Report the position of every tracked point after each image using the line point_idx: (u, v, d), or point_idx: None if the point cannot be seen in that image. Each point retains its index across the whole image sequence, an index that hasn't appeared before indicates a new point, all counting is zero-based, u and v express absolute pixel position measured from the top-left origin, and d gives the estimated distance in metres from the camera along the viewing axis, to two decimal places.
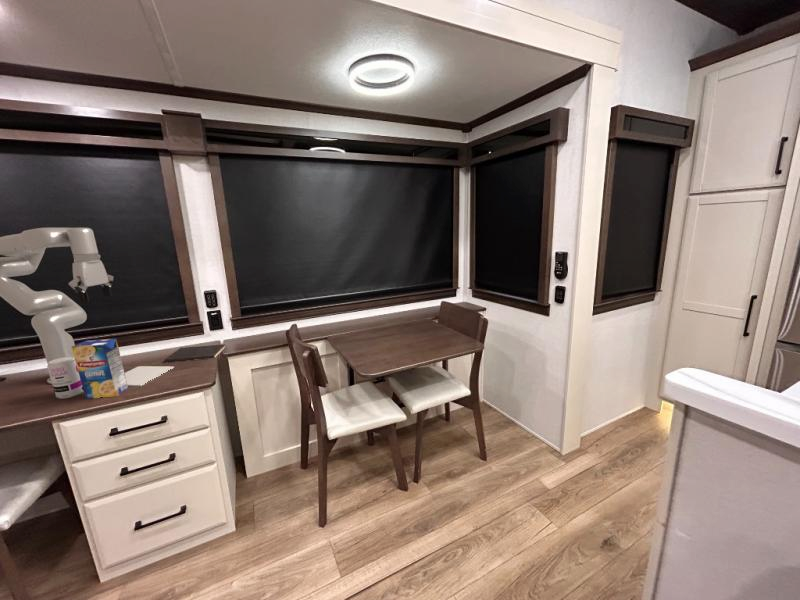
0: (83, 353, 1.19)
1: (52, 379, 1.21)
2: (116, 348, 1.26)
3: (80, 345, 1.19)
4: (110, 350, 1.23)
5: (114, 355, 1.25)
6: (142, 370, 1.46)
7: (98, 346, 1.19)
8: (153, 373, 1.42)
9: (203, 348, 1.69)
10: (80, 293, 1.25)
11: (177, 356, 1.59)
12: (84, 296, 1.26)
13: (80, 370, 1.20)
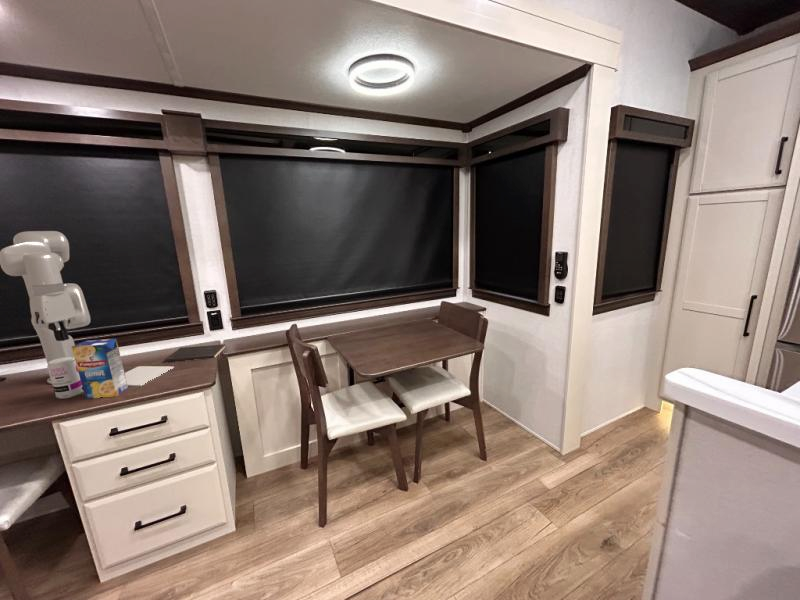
0: (83, 353, 1.19)
1: (52, 379, 1.21)
2: (116, 348, 1.26)
3: (80, 345, 1.19)
4: (110, 350, 1.23)
5: (114, 355, 1.25)
6: (142, 370, 1.46)
7: (98, 346, 1.19)
8: (153, 373, 1.42)
9: (203, 348, 1.69)
10: (55, 331, 1.09)
11: (177, 356, 1.59)
12: (60, 335, 1.09)
13: (80, 370, 1.20)
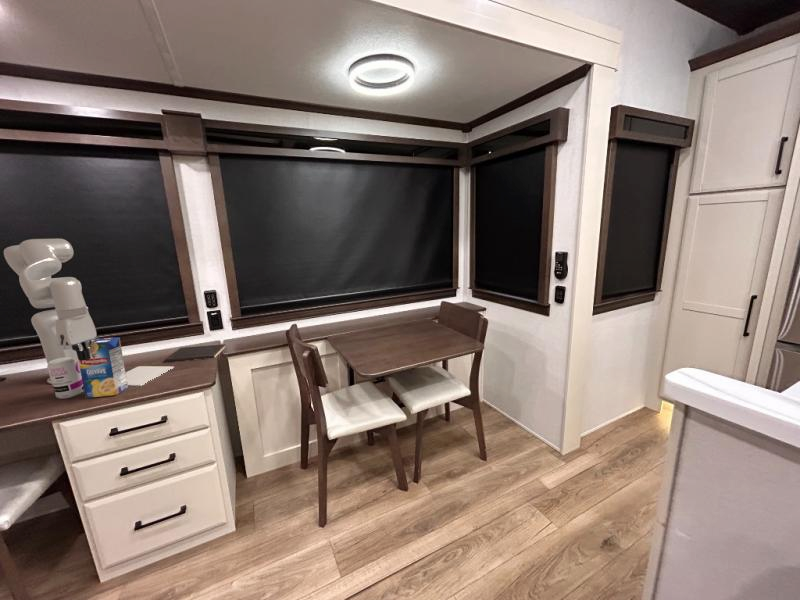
0: None
1: (52, 379, 1.21)
2: (119, 346, 1.28)
3: None
4: (112, 348, 1.24)
5: (116, 353, 1.26)
6: (142, 370, 1.46)
7: (101, 343, 1.21)
8: (153, 373, 1.42)
9: (203, 348, 1.69)
10: (78, 352, 1.16)
11: (177, 356, 1.59)
12: (82, 355, 1.17)
13: (82, 368, 1.21)
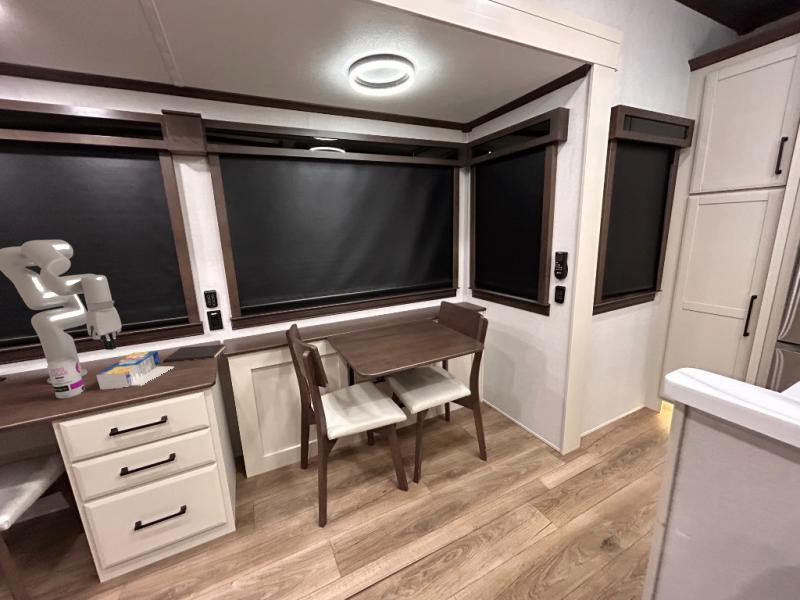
0: (137, 354, 1.47)
1: (52, 379, 1.21)
2: (155, 365, 1.49)
3: None
4: (154, 358, 1.48)
5: (151, 364, 1.46)
6: None
7: None
8: (153, 373, 1.42)
9: (203, 348, 1.69)
10: (105, 342, 1.26)
11: (177, 356, 1.59)
12: (109, 344, 1.27)
13: (120, 361, 1.40)
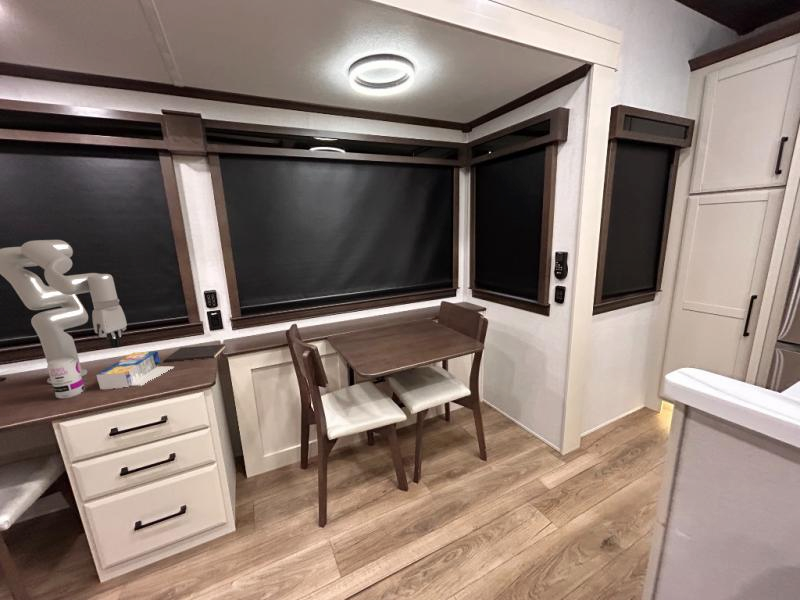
0: (137, 354, 1.47)
1: (52, 379, 1.21)
2: (155, 365, 1.49)
3: None
4: (154, 358, 1.48)
5: (151, 364, 1.46)
6: None
7: None
8: (153, 373, 1.42)
9: (203, 348, 1.69)
10: (111, 340, 1.29)
11: (177, 356, 1.59)
12: (115, 342, 1.29)
13: (120, 361, 1.40)
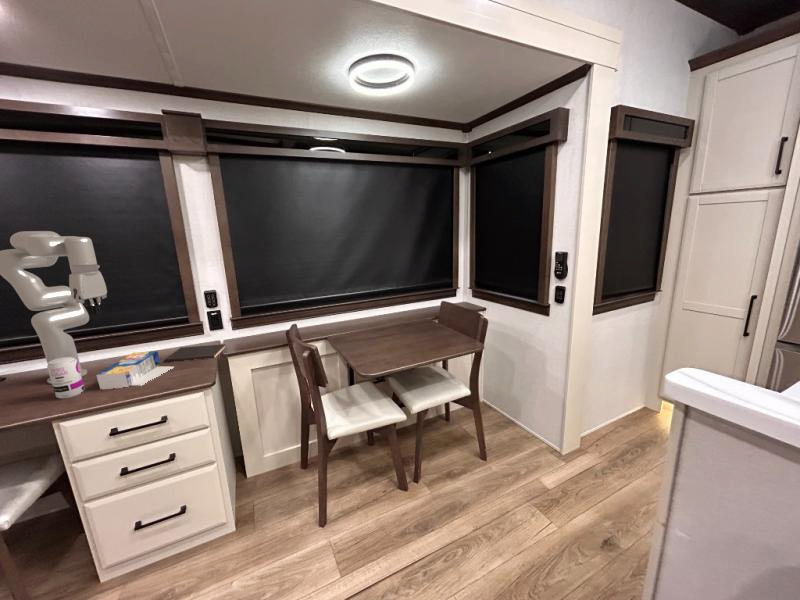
0: (137, 354, 1.47)
1: (52, 379, 1.21)
2: (155, 365, 1.49)
3: None
4: (154, 358, 1.48)
5: (151, 364, 1.46)
6: None
7: None
8: (153, 373, 1.42)
9: (203, 348, 1.69)
10: (89, 307, 1.23)
11: (177, 356, 1.59)
12: (93, 310, 1.24)
13: (120, 361, 1.40)
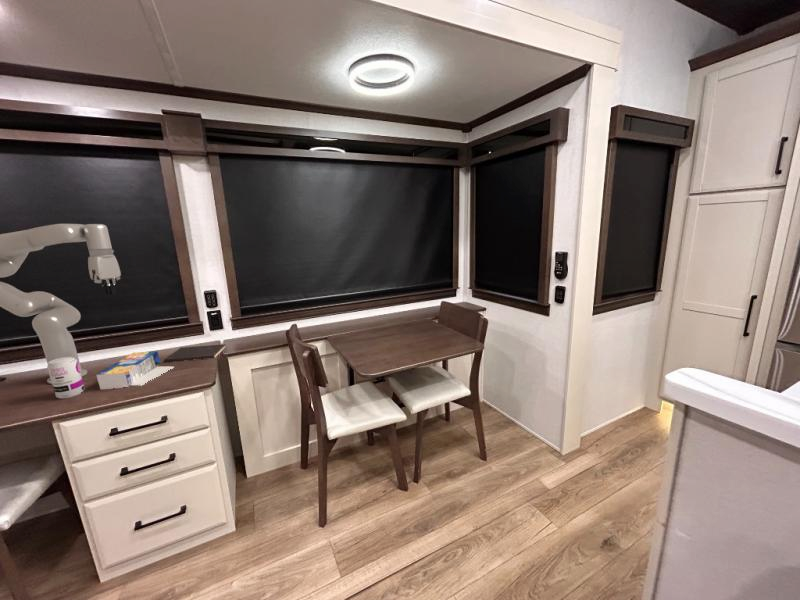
0: (137, 354, 1.47)
1: (52, 379, 1.21)
2: (155, 365, 1.49)
3: None
4: (154, 358, 1.48)
5: (151, 364, 1.46)
6: None
7: None
8: (153, 373, 1.42)
9: (203, 348, 1.69)
10: (106, 287, 1.38)
11: (177, 356, 1.59)
12: (109, 289, 1.38)
13: (120, 361, 1.40)
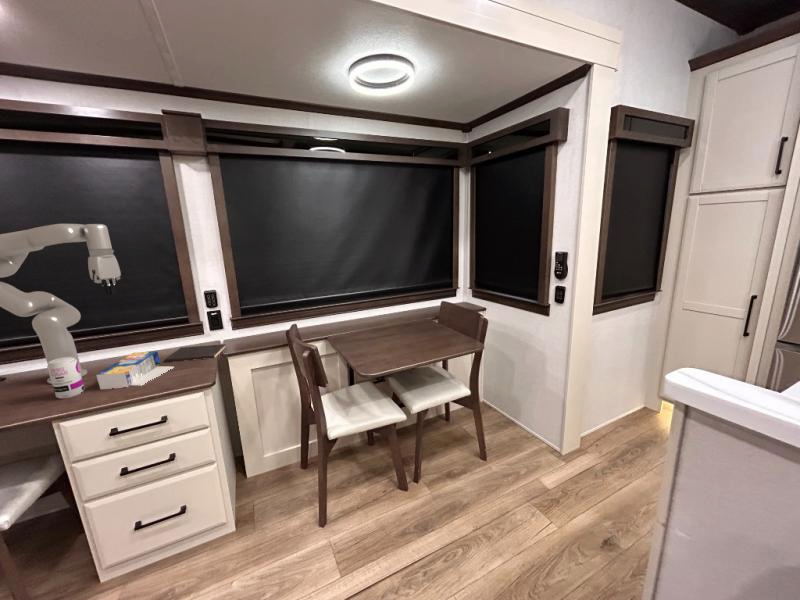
0: (137, 354, 1.47)
1: (52, 379, 1.21)
2: (155, 365, 1.49)
3: None
4: (154, 358, 1.48)
5: (151, 364, 1.46)
6: None
7: (152, 351, 1.50)
8: (153, 373, 1.42)
9: (203, 348, 1.69)
10: (106, 287, 1.38)
11: (177, 356, 1.59)
12: (109, 289, 1.38)
13: (120, 361, 1.40)
